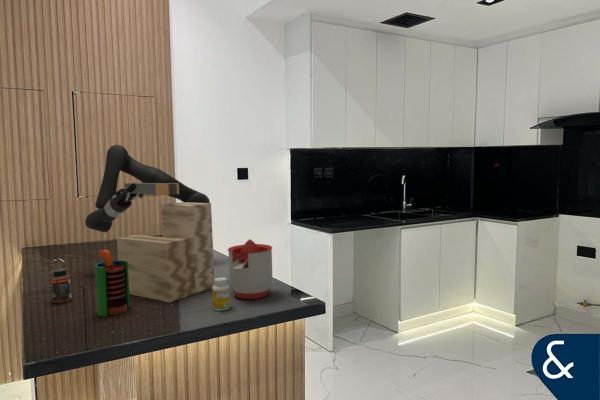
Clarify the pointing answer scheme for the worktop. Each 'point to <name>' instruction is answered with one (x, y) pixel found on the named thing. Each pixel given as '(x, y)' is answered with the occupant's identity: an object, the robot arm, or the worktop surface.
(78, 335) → the worktop surface
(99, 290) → the motor
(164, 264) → the stand
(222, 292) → the supplement bottle
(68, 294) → the supplement bottle
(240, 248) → the citrus juicer
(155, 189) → the grey and tan bar
